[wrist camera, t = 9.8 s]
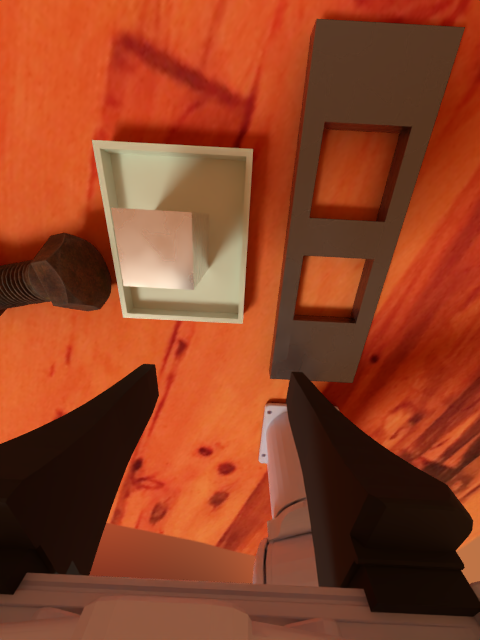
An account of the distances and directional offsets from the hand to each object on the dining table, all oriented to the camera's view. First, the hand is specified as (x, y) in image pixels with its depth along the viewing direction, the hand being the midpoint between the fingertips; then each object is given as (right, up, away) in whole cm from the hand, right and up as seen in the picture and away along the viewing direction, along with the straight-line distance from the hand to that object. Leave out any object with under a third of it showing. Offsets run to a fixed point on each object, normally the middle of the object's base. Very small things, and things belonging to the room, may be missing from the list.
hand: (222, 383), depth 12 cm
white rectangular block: (-4, +9, +5) cm, 11 cm away
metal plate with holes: (+8, +9, +6) cm, 14 cm away
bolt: (-18, +7, +8) cm, 21 cm away
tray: (-4, +10, +6) cm, 12 cm away
